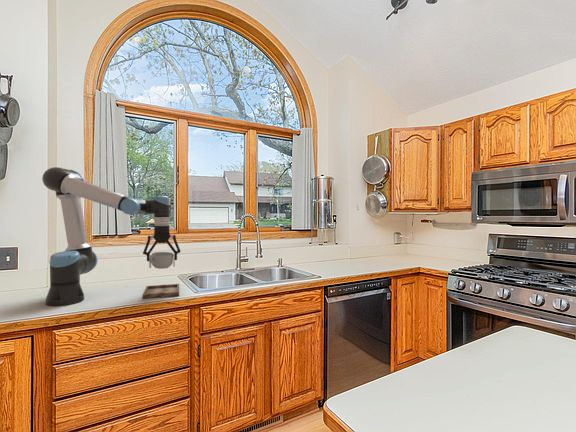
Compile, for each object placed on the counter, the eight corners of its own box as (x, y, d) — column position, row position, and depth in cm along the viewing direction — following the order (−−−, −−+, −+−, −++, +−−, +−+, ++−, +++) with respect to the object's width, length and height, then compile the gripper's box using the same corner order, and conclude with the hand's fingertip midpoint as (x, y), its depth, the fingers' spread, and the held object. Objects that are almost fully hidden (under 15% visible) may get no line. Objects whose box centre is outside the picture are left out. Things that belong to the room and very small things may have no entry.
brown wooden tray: (142, 298, 160) (142, 294, 160) (146, 289, 179) (146, 285, 179) (179, 296, 165) (179, 292, 165) (179, 287, 184) (179, 283, 184)
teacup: (164, 265, 181) (164, 251, 180) (177, 267, 175) (177, 252, 174) (141, 269, 169) (141, 253, 169) (154, 271, 163) (154, 255, 163)
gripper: (136, 226, 164) (137, 269, 165) (185, 225, 172) (185, 266, 172) (138, 225, 172) (138, 267, 172) (185, 224, 179) (185, 264, 179)
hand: (162, 266), depth 172 cm, fingers closed on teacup, 11 cm apart
